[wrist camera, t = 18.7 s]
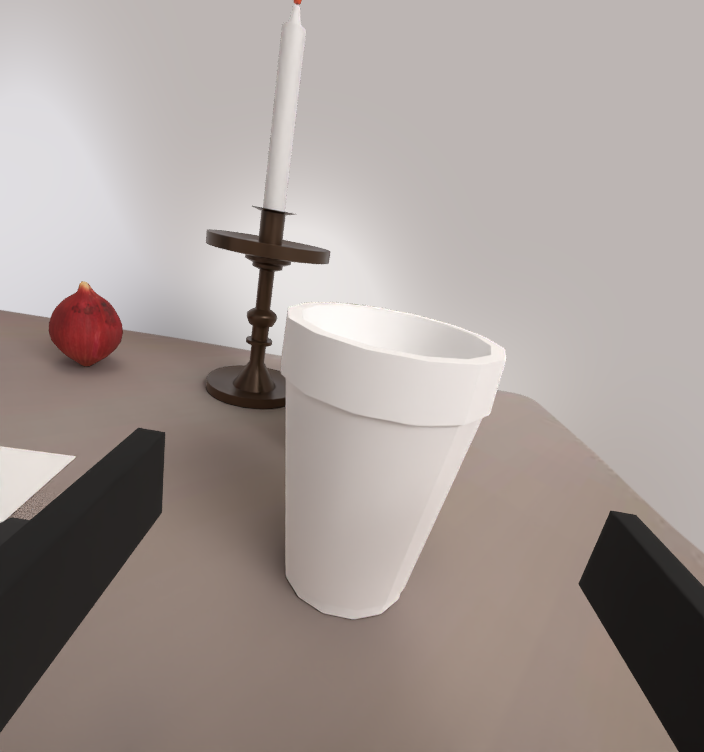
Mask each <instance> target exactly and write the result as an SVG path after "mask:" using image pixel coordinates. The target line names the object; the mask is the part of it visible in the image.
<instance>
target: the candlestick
mask: <svg viewBox="0 0 704 752" xmlns="http://www.w3.org/2000/svg"><path fill="white" fill-rule="evenodd" d="M301 1H302V0H294V3H295V4H296V5H294V6H293V9H292V13H291V16H290V18H289V21H288V22H286V23H283V24H282V32H281V42H280V51H279V60H278V70H277V80H276V90H275V99H274V108H273V119H272V128H271V137H270V147H269V156H268V166H267V175H266V185H265V195H264V204H263V208H260V207H255V206H253V207H255V208H257V209H259V210H262V212H261V221H260V231H259V236H257V235H251V234H244V233H238V232H230V231H222V230H207V237H206V243H207V244H209V245H212V246H215V247H218V248H222V249H226V250H230V251H234V252H239V253H243V254H245V257H246V258H247V259H249V260H251V261H252V262H253V266H255V267H257V268H258V269H260V272H259V281H258V291H257V300H256V307H255V308H253V309H251V310H249V311H248V312H247V318H248V321H249V323H250V324H251V325H253V327H252V336H249V337H247V338H246V342H247V343H248V344H251V345H252V347H251V355H250V361H249V363H248V364H247V365H246V366H229V367H223V368H219V369H216V370H214V371H212V372H211V373H209V374H208V376H207V385H206V389H207V391H208V393H209V394H210V395H212V396H213V397H215V398H216V399H218V400H220V401H223V402H225V403H228V404H232V405H236V406H241V407H247V408H260V409H266V408H277V407H283V406H286V378H285V377H284V376H283V375H281V372H280V371H277V370H273V369H269V368H266V366H265V364H264V357H265V349H266V346H271V345H272V340H271V339H269V338H268V331H269V327H272V326H273V325H274V323H275V322H276V319H277V316H276V314H275V313H274V312H273V311H271V310H270V305H271V297H272V288H273V280H274V272H275V271H280V270H282V267H283V266H287V265H290V264H291V262H299V263H311V264H328V263H329V257H330V251H328V250H326V249H322V248H318V247H314V246H310V245H305V244H300V243H295V242H290V241H285V240H282V239H283V230H284V222H285V215H294V214H292V213H287V212H285V204H286V196H287V187H288V179H289V170H290V162H291V153H292V146H293V137H294V128H295V120H296V112H297V104H298V95H299V87H300V78H301V70H302V62H303V53H304V45H305V37H306V30H305V29H304V28H303V27H302V26H301V19H300V7H299V6H298V5H297V4H301Z"/></svg>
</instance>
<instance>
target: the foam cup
mask: <svg viewBox="0 0 704 752" xmlns="http://www.w3.org/2000/svg"><path fill="white" fill-rule="evenodd" d="M505 363H506V353H505V348H503V347H501V346H499V345H498V344H496V343H495V342H493V341H491V340H490V339H488V338H486V337H484V336H482V335H479V334H477V333H474V332H471V331H469V330H466V329H463V328H460V327H458V326H455V325H452V324H449V323H445V322H441V321H438V320H433V319H430V318H426V317H422V316H419V315H415V314H410V313H405V312H400V311H394V310H389V309H384V308H379V307H373V306H364V305H355V304H346V303H334V302H331V303H330V302H329V303H327V302H325V303H324V302H317V303H316V302H315V303H314V302H306V303H303V304H299V305H295V306H290V307H288V311H287V319H286V327H285V334H284V342H283V350H282V357H281V375H283V376H284V377H285V378H286V445H285V566H286V577H287V579H288V581H289V582H290V584H291V586H292V587H293V589H294V590H295V592H296V594H297V595H298V597H299V598H301V599H302V600H304V601H305V602H307V603H308V604H310V605H311V606H313V607H314V608H316V609H317V610H319V611H320V612H322V613H324V614H329V615H334V616H339V617H344V618H349V619H353V620H354V619H359V618H364V617H369V616H374V615H379V614H382V613H383V612H384V611H385V610H386V609H388V608H389V607H390V606H391V605H392V604H394V603H395V602H396V601H397V600H398V599H399V597H400V593H401V592H402V591H403V590H404V588H405V586H406V583H407V581H408V579H409V577H410V575H411V573H412V570H413V568H414V566H415V564H416V562H417V559H418V557H419V555H420V553H421V551H422V549H423V546H424V544H425V542H426V540H427V538H428V536H429V533H430V531H431V529H432V527H433V525H434V522H435V520H436V518H437V516H438V514H439V512H440V509H441V507H442V505H443V503H444V501H445V499H446V496H447V494H448V492H449V490H450V488H451V486H452V483H453V481H454V479H455V477H456V475H457V472H458V470H459V468H460V466H461V464H462V462H463V459H464V457H465V455H466V453H467V451H468V449H469V446H470V444H471V442H472V440H473V438H474V435H475V433H476V431H477V429H478V427H479V425H480V422H481V420H482V418H483V417H485V416H488V415H490V412H491V409H492V405H493V402H494V399H495V396H496V392H497V389H498V385H499V382H500V379H501V375H502V372H503V369H504V366H505Z"/></svg>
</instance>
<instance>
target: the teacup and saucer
mask: <svg viewBox="0 0 704 752" xmlns="http://www.w3.org/2000/svg"><path fill="white" fill-rule="evenodd" d="M75 457H76V456H70V455H62V454H54V453H47V452H39V451H31V450H24V449H16V448H8V447H1V446H0V523H1V522H3V521H5V520H6V519H7V518H8V517H9V516H10V515H11V514H12V513H14V512H15V511H16V510H17V509H18V508H19V507H20V506H21V505H23V504H24V503H25V502H26V501H27V500H28V499H29V498H30V497H32V496H33V495H34V494H35V493H36V492H37V491H38V490H39V489H41V488H42V487H43V486H44V485H45V484H46V483H47V482H48V481H50V480H51V479H52V478H53V477H54V476H55V475H56V474H57V473H59V472H60V471H61V470H62V469H63V468H64V467H65V466H66V465H68V464H69V463H70V462H71V461H72V460H73V459H74V458H75Z"/></svg>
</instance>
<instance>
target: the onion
mask: <svg viewBox="0 0 704 752" xmlns="http://www.w3.org/2000/svg"><path fill="white" fill-rule="evenodd" d="M49 334H50V337H51V340H52V341H53V343H54V344H55V345H56V346H57V347H58V348H59V349H60V350H61V351H62V352H63V353H64V354H65V355H66V356H68V357H69V358H71V359H73V360H74V361H76V362H78V363H79V364H81V365H83V366H91V365H93V364H94V363H96V362H98V361H100V360H102V359H104V358H105V357H107V356H108V355H109V354H111V353H112V352H113V351H114V350H115V349H116V348H117V346H118V345H119V344H120V342H121V339H122V334H123V330H122V323H121V321H120V318H119V316H118V315H117V313H116V311H115V309H114V308H113V307H112V305H111V304H110V303H109V302H108V301H106V300H105V299H104V298H102V297H101V296H99V295H98V294H96V293H95V292H94V291H93V289H92V288H91V287H90V285H89V284H88V283H87V282H83V281H82V282H81V283H80V285H79V288H78V291H77V292H76V293H75V294H73V295H71V296H69V297H67V298H66V299H65V300H63V301H62V302H61V303H60V304H59V305H58V306H57V307H56V308H55V310H54V311H53V313H52V316H51V319H50V322H49Z"/></svg>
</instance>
